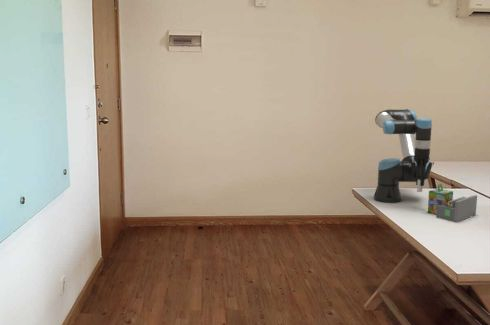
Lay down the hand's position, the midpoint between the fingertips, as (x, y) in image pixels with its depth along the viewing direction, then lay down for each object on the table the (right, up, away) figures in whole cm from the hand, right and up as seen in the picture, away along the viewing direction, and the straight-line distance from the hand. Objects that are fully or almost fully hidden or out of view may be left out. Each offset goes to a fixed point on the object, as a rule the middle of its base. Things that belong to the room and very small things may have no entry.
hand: (419, 191), depth 246 cm
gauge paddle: (+12, -11, -16) cm, 23 cm away
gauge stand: (+13, -12, -15) cm, 23 cm away
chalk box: (+7, -11, -8) cm, 15 cm away
